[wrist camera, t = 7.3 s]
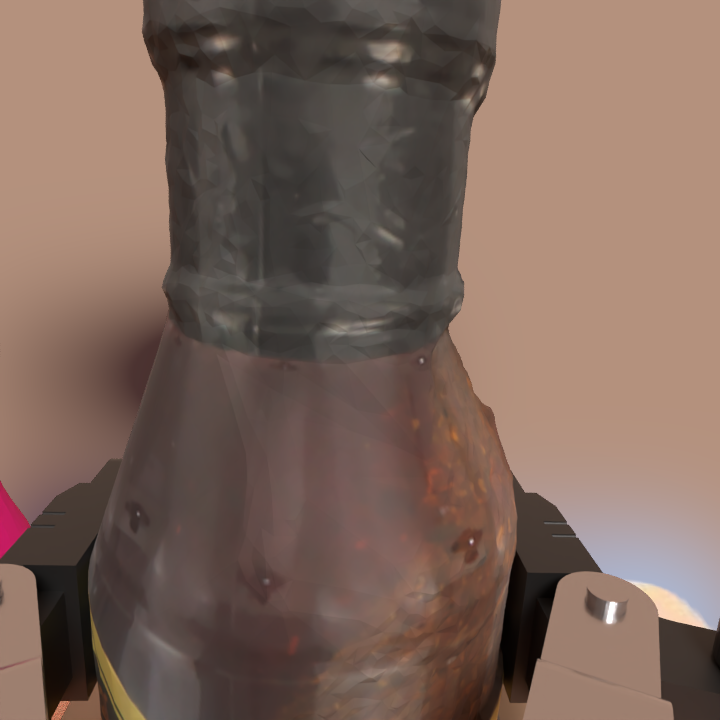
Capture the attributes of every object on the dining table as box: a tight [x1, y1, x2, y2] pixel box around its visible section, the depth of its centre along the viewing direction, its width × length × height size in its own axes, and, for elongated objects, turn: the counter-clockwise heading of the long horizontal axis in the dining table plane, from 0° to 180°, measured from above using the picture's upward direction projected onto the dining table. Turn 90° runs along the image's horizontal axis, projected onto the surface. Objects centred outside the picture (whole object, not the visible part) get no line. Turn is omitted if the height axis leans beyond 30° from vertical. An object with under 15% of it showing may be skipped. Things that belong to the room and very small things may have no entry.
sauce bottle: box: [88, 0, 517, 720], centre depth 10 cm, size 7×6×20 cm
